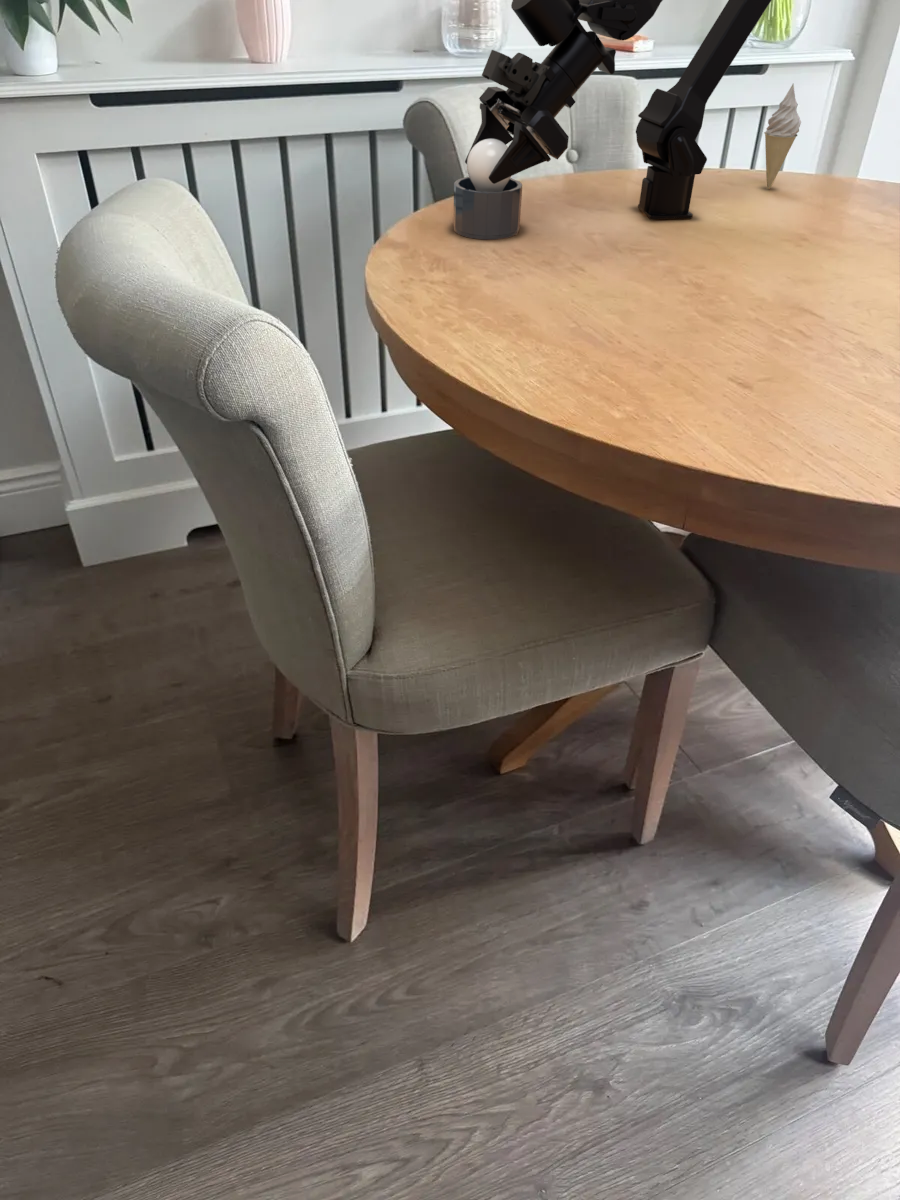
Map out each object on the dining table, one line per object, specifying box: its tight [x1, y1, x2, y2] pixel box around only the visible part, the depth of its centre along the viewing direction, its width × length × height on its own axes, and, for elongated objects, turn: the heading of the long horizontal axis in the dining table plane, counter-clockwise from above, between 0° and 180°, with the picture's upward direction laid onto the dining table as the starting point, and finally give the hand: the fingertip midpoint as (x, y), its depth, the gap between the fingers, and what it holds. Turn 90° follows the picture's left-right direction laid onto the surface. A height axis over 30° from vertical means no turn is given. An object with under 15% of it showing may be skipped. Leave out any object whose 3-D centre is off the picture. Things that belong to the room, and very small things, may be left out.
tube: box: [452, 176, 523, 241], centre depth 121 cm, size 9×9×6 cm
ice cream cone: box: [763, 83, 802, 190], centre depth 137 cm, size 5×5×15 cm
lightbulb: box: [466, 138, 512, 192], centre depth 119 cm, size 6×6×11 cm
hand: (478, 172), depth 117 cm, fingers open, 9 cm apart
